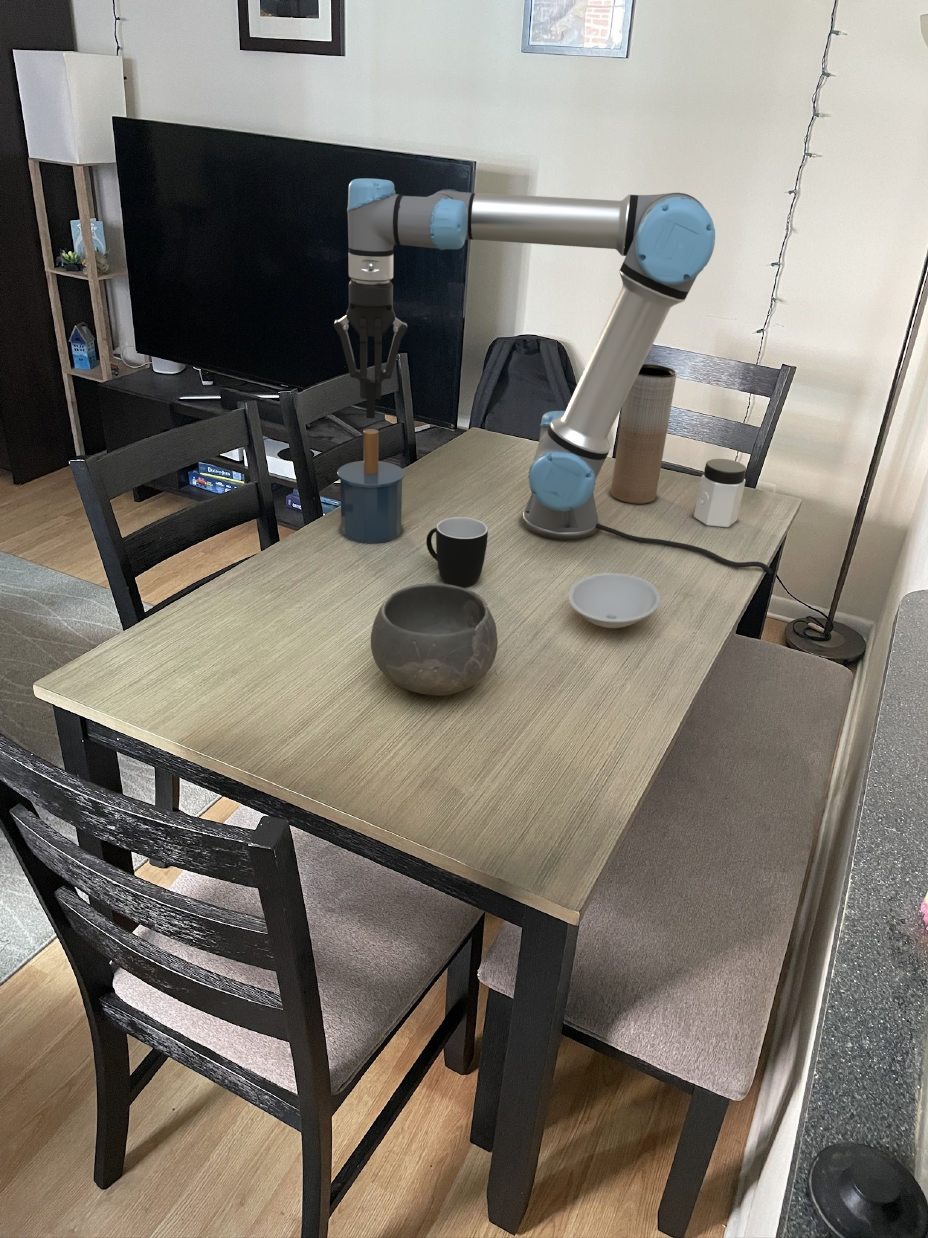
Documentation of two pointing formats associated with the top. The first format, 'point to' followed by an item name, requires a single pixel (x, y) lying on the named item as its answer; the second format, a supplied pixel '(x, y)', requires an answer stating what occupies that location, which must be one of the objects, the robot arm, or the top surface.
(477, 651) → the bowl
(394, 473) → the lid
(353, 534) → the blue cylindrical container
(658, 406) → the vase
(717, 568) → the top surface
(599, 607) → the dish
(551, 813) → the top surface
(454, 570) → the mug
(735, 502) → the jar
